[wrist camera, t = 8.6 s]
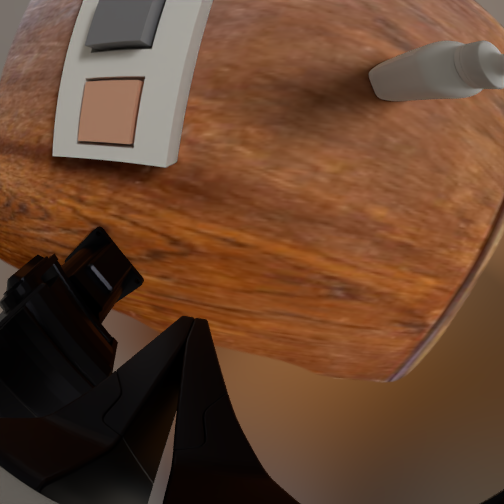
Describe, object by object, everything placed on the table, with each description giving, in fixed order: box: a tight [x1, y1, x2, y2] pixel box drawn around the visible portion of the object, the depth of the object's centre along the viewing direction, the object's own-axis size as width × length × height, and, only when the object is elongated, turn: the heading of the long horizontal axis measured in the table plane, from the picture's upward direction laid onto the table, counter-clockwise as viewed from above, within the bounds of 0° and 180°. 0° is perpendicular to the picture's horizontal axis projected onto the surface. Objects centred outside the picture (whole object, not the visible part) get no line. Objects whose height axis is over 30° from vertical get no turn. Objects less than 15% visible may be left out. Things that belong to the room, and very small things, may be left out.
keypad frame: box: [53, 0, 213, 168], centre depth 13 cm, size 21×10×3 cm, turn 168°
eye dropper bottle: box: [369, 41, 504, 101], centre depth 10 cm, size 4×6×12 cm
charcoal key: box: [85, 0, 166, 50], centre depth 12 cm, size 4×4×2 cm
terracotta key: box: [78, 80, 144, 144], centre depth 16 cm, size 4×4×2 cm
